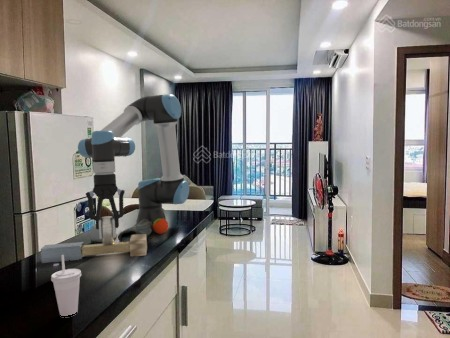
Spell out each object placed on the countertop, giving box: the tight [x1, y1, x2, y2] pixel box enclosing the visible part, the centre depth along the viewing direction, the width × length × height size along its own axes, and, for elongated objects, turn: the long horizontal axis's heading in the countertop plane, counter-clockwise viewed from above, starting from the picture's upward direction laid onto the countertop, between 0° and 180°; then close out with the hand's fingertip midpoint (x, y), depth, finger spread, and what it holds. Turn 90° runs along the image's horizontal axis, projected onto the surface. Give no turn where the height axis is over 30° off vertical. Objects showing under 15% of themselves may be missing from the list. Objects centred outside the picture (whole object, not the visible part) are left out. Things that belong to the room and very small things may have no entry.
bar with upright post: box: [81, 215, 130, 257], centre depth 122 cm, size 23×4×13 cm, turn 101°
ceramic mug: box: [89, 223, 118, 243], centre depth 144 cm, size 11×8×8 cm
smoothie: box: [50, 255, 82, 317], centre depth 78 cm, size 6×6×14 cm
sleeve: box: [40, 241, 85, 264], centre depth 120 cm, size 13×5×5 cm, turn 101°
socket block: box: [129, 234, 148, 257], centre depth 125 cm, size 6×9×6 cm, turn 11°
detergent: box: [117, 219, 153, 242], centre depth 146 cm, size 13×7×25 cm
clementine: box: [152, 218, 169, 235], centre depth 152 cm, size 8×7×7 cm
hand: (108, 237), depth 123 cm, fingers closed on bar with upright post, 4 cm apart
